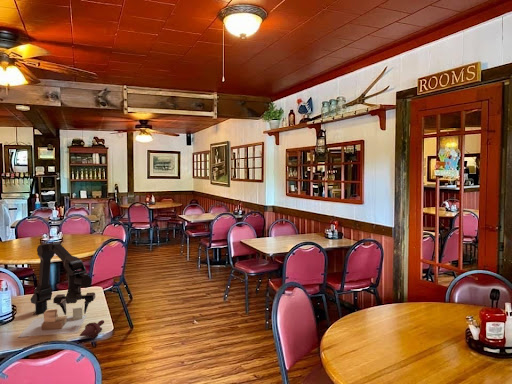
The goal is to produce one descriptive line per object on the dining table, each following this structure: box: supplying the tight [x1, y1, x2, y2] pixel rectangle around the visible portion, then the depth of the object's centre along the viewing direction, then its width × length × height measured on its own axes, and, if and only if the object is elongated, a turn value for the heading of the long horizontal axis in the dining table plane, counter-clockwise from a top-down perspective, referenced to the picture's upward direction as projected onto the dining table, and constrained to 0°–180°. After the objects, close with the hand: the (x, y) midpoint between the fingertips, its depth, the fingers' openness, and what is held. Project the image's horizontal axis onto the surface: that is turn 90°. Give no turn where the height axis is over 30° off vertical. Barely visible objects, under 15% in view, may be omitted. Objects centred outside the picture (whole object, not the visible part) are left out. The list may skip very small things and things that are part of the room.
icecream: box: [79, 319, 105, 339], centre depth 182 cm, size 7×7×15 cm
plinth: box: [42, 315, 67, 330], centre depth 193 cm, size 9×9×3 cm
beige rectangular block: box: [72, 304, 84, 320], centre depth 203 cm, size 4×4×6 cm
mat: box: [17, 314, 88, 339], centre depth 194 cm, size 22×26×1 cm
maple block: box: [43, 308, 59, 323], centre depth 192 cm, size 5×5×5 cm
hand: (75, 314), depth 195 cm, fingers open, 9 cm apart
